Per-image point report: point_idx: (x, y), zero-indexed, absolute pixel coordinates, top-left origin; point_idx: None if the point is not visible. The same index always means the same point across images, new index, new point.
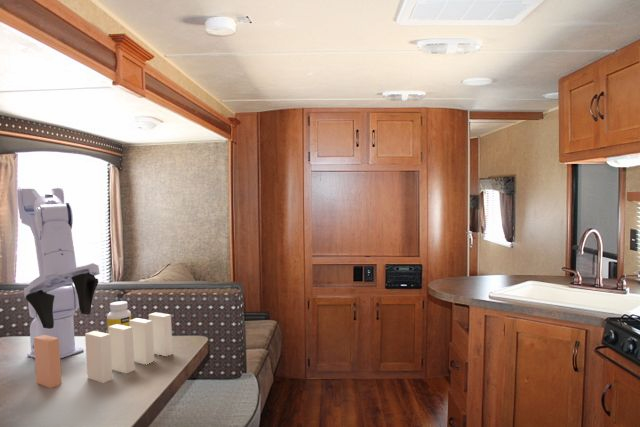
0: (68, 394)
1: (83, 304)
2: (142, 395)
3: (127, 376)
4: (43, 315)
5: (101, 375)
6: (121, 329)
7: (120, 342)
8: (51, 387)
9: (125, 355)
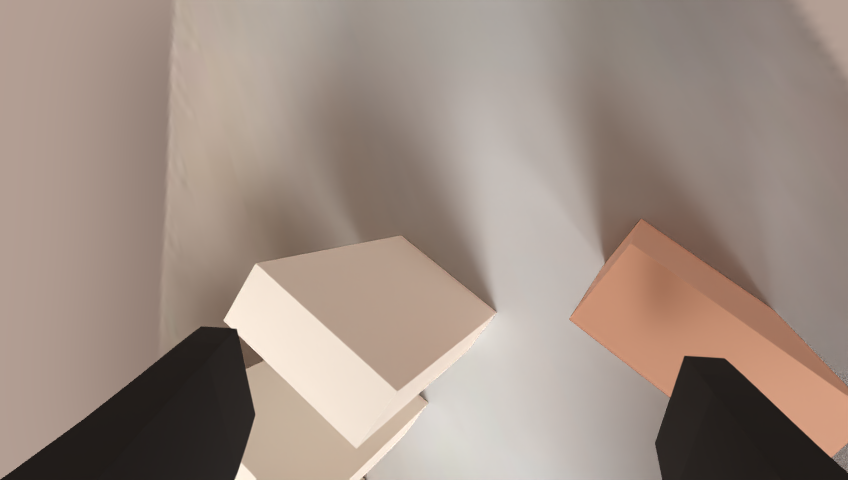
0: (509, 127)
1: (133, 382)
2: (217, 86)
3: None
4: (761, 464)
5: (393, 245)
6: None
7: (271, 394)
8: (639, 220)
9: None
